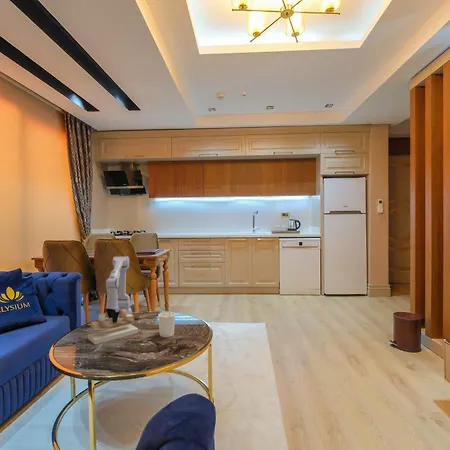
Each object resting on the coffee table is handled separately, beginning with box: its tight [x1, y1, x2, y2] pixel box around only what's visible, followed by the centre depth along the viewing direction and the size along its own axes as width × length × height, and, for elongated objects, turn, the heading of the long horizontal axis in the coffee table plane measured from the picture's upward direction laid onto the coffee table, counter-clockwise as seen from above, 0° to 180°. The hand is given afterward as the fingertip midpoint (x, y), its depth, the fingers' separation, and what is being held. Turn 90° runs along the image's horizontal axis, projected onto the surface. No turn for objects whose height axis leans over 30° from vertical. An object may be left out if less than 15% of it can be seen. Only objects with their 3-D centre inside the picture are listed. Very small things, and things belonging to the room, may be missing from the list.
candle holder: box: [157, 311, 176, 338], centre depth 188 cm, size 10×10×12 cm
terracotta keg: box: [119, 309, 126, 318], centre depth 191 cm, size 4×4×4 cm
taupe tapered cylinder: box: [98, 312, 107, 322], centre depth 183 cm, size 4×4×4 cm
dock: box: [87, 323, 139, 345], centre depth 187 cm, size 26×11×3 cm, turn 131°
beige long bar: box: [90, 313, 135, 331], centre depth 187 cm, size 24×5×4 cm, turn 131°
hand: (113, 321), depth 187 cm, fingers closed on beige long bar, 5 cm apart
